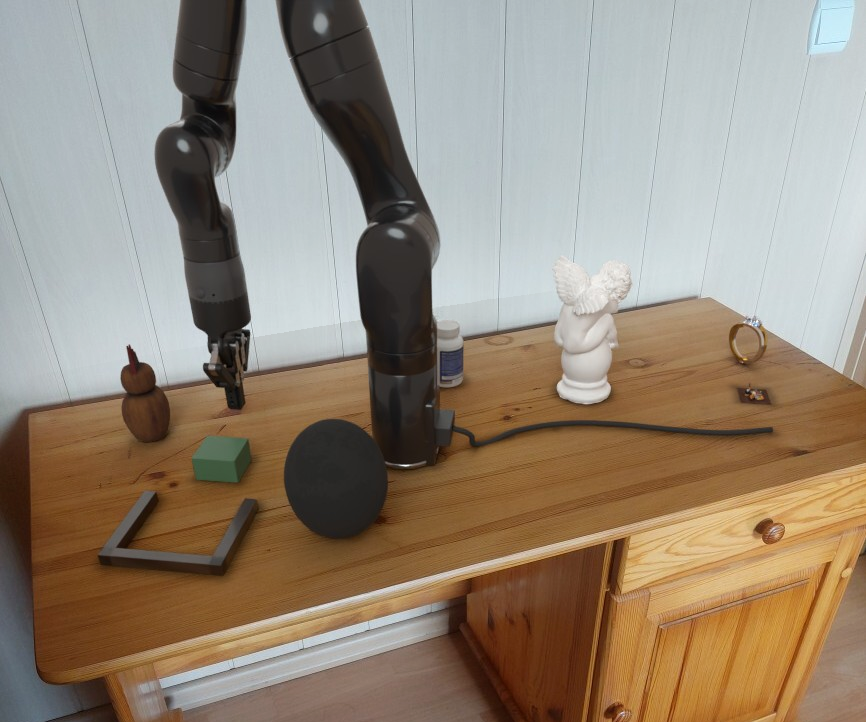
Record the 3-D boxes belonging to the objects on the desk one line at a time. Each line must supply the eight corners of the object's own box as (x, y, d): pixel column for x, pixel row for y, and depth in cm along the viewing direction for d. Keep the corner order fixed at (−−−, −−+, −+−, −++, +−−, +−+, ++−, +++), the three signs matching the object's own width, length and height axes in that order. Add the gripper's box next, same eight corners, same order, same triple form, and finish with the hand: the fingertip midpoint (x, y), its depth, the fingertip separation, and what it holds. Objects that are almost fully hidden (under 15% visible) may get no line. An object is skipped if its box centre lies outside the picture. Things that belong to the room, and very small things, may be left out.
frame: (258, 508, 106) (256, 498, 105) (223, 576, 95) (220, 565, 94) (147, 500, 108) (144, 490, 107) (100, 565, 97) (97, 554, 96)
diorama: (744, 400, 128) (748, 388, 127) (741, 389, 131) (744, 377, 130) (764, 401, 128) (767, 389, 126) (760, 390, 131) (764, 378, 129)
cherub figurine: (612, 378, 134) (631, 243, 121) (628, 416, 124) (651, 273, 111) (538, 380, 134) (549, 244, 120) (549, 417, 124) (562, 274, 111)
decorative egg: (340, 574, 95) (329, 466, 86) (271, 533, 102) (254, 428, 93) (410, 526, 103) (407, 421, 94) (342, 490, 109) (332, 389, 100)
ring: (764, 369, 137) (776, 323, 132) (749, 372, 136) (761, 327, 131) (735, 353, 142) (745, 308, 137) (720, 356, 140) (730, 311, 136)
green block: (252, 459, 115) (248, 438, 113) (238, 483, 111) (234, 461, 109) (211, 456, 116) (206, 435, 114) (196, 479, 111) (191, 458, 109)
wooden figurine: (160, 449, 118) (136, 352, 108) (123, 445, 119) (96, 349, 109) (180, 426, 123) (159, 332, 114) (145, 422, 124) (121, 328, 115)
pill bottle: (469, 378, 135) (470, 322, 129) (452, 391, 131) (452, 334, 125) (441, 370, 137) (441, 315, 131) (424, 383, 133) (423, 326, 127)
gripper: (228, 310, 101) (247, 432, 111) (260, 272, 111) (275, 387, 122) (170, 306, 101) (195, 428, 112) (207, 269, 112) (227, 384, 122)
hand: (237, 406), depth 117 cm, fingers closed
